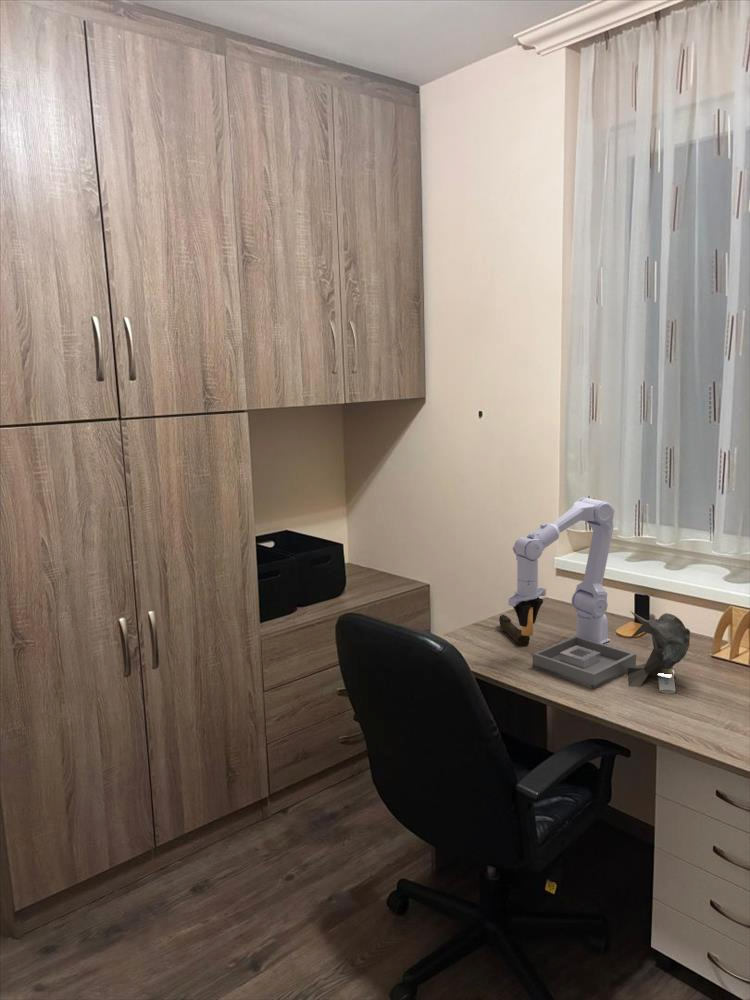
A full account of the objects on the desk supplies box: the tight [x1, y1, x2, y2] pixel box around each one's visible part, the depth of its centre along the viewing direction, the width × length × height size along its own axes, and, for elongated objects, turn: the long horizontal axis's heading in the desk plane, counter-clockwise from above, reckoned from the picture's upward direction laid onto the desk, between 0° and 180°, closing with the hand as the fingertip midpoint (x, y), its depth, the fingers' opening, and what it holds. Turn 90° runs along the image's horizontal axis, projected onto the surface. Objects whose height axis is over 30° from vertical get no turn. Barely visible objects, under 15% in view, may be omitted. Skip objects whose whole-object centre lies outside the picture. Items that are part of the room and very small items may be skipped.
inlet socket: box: [560, 645, 601, 669], centre depth 212 cm, size 8×8×2 cm
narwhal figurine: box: [627, 610, 691, 688], centre depth 201 cm, size 14×15×18 cm
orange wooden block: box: [521, 606, 534, 637], centre depth 217 cm, size 3×3×8 cm
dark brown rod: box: [499, 614, 531, 647], centre depth 236 cm, size 19×4×5 cm, turn 10°
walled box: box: [532, 635, 637, 690], centre depth 210 cm, size 20×20×4 cm
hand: (527, 624), depth 218 cm, fingers closed on orange wooden block, 3 cm apart
